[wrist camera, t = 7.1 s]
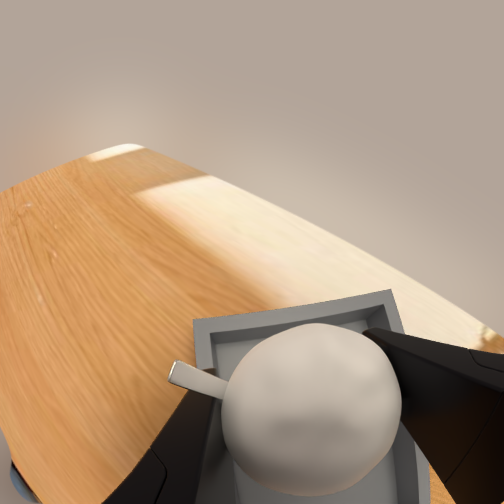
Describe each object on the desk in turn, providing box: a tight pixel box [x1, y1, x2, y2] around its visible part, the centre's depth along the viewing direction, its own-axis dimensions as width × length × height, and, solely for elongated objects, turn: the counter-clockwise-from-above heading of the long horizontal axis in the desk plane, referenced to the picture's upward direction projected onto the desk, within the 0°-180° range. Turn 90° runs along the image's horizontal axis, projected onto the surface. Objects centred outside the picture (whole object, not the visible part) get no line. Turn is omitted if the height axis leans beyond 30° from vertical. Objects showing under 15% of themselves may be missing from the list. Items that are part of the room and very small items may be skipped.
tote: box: [193, 289, 430, 504], centre depth 15 cm, size 20×14×4 cm
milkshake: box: [168, 323, 402, 496], centre depth 8 cm, size 4×5×10 cm
